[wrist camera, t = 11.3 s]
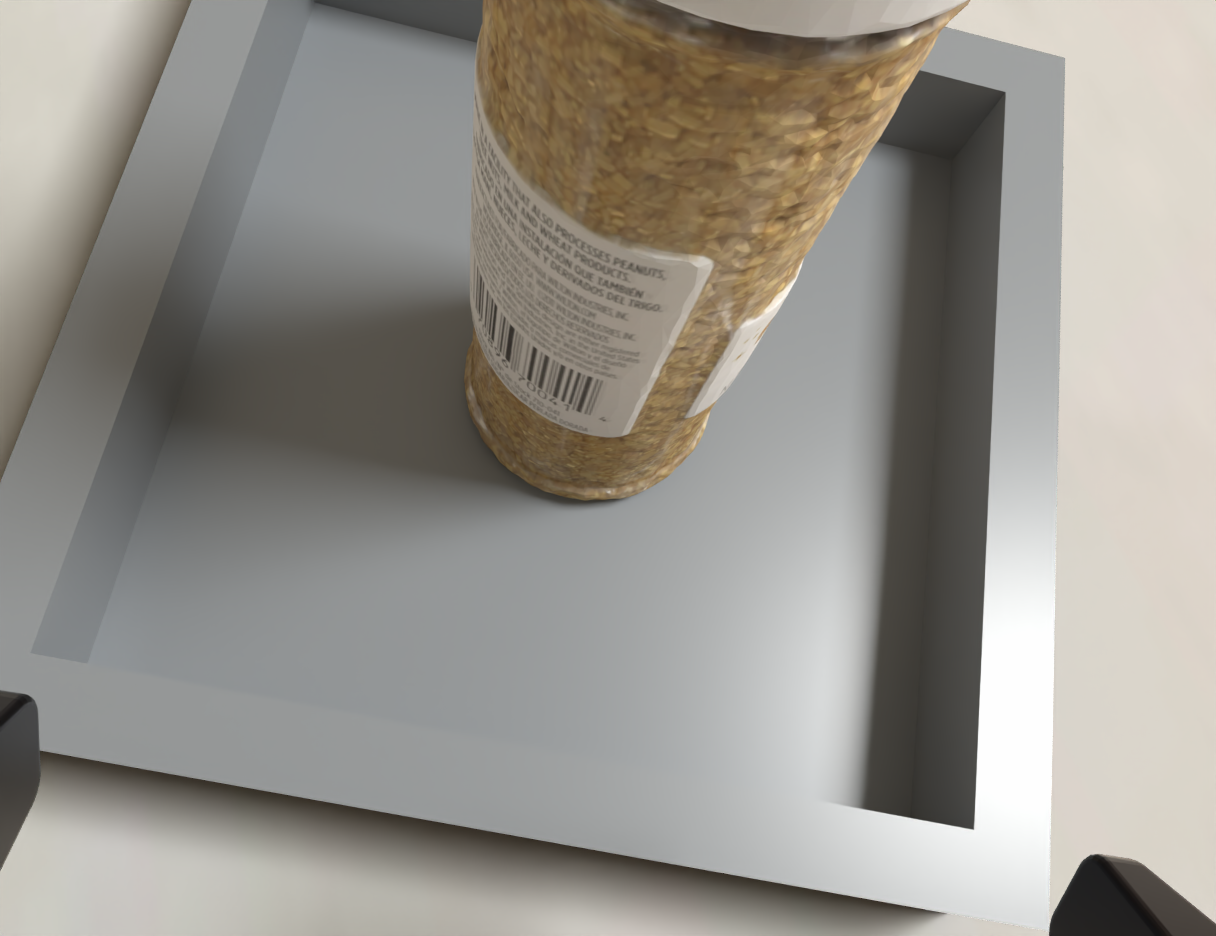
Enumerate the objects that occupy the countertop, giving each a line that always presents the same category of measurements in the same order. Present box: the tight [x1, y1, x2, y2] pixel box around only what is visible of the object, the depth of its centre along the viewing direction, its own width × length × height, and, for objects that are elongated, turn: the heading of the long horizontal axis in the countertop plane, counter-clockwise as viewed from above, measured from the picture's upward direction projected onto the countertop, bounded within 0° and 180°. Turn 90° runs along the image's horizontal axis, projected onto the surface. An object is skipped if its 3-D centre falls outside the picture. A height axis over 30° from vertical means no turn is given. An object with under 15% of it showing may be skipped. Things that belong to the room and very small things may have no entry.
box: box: [0, 0, 1065, 932], centre depth 18 cm, size 16×16×3 cm
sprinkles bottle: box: [464, 0, 970, 501], centre depth 12 cm, size 5×5×14 cm
